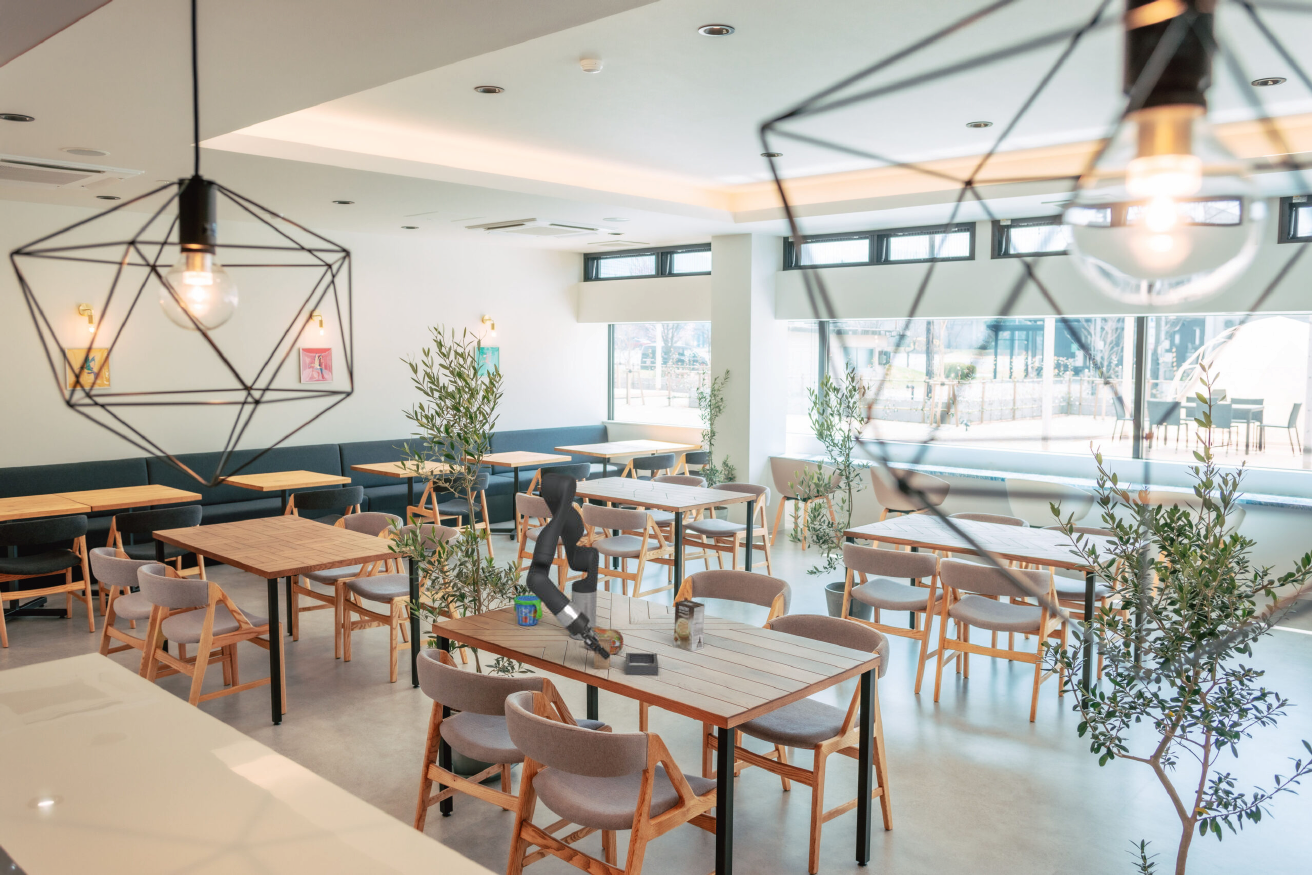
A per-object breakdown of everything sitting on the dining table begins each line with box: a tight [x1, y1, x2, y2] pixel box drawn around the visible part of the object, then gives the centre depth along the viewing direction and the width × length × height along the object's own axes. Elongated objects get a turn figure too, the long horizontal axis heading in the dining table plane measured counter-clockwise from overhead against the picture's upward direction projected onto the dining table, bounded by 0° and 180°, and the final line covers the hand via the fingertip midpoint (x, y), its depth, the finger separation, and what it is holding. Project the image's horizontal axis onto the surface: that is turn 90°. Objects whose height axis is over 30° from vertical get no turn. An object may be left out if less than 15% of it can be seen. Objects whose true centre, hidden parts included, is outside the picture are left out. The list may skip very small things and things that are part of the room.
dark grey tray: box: [625, 652, 659, 677], centre depth 302 cm, size 14×10×3 cm
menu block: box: [593, 638, 611, 670], centre depth 301 cm, size 4×5×10 cm
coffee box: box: [673, 599, 705, 652], centre depth 328 cm, size 9×6×16 cm
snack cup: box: [513, 594, 543, 627], centre depth 352 cm, size 16×10×10 cm
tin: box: [583, 626, 624, 655], centre depth 319 cm, size 15×3×8 cm, turn 62°
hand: (608, 655), depth 301 cm, fingers closed on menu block, 3 cm apart
